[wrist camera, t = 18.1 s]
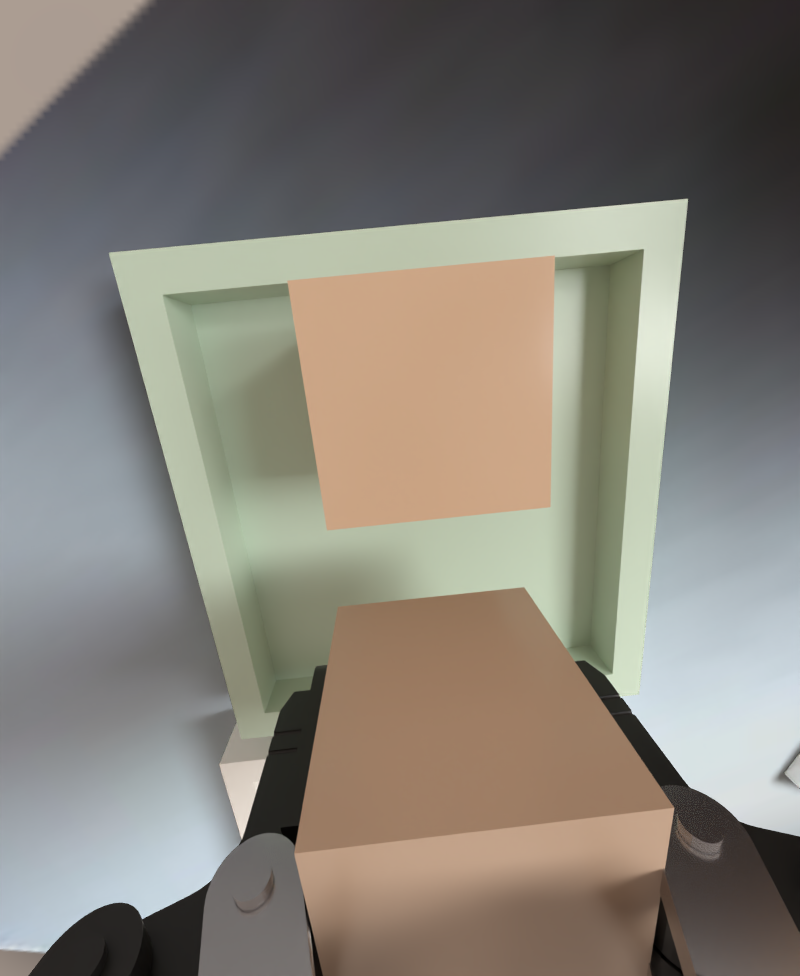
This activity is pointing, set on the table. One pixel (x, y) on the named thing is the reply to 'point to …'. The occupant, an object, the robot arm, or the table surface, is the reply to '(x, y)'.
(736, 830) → the robot arm
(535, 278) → the tan boxy piece
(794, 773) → the external hard drive
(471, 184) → the table surface
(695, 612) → the table surface
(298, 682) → the tray
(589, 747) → the tan block
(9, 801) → the table surface
